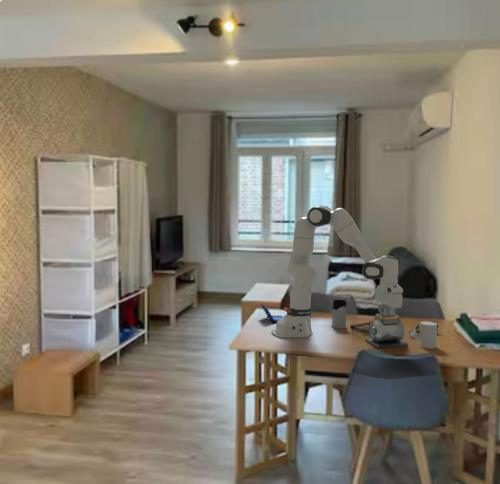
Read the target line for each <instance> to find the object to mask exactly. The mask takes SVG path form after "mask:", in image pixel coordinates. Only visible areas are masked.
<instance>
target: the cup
mask: <svg viewBox="0 0 500 484" xmlns="http://www.w3.org/2000/svg"><path fill="white" fill-rule="evenodd" d="M434 322H435V321H434ZM434 322H431V321H420V323H419V325H420V339H419V345H418V346H419V347H420V348H424V349H426V350H427V349H429V350H432V349H433V348H434V349H436V348H437V335H438V334H437V332H438V330H437V329H438V328H437V324H438V323H437V322H436V323H434ZM434 349H433V350H434Z"/></svg>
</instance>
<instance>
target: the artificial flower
mask: <svg viewBox="0 0 500 484" xmlns="http://www.w3.org/2000/svg"><path fill="white" fill-rule="evenodd" d="M430 322H434V323H437V322H436V321H432V320H431V321H430ZM438 328H439V325H438V323H437V331H439V330H438ZM407 334H408V335H409V336H410V337H412V338H413V339H414V340H420V323H416V325H415V329H414V328H411V327H410V328H409V329H407Z"/></svg>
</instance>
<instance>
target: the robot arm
mask: <svg viewBox="0 0 500 484" xmlns="http://www.w3.org/2000/svg"><path fill="white" fill-rule="evenodd" d="M328 225H330V226H331V227H332V228H333V229H334V231H335V233H336V234H337V235H338V238H340V240H341V241H342V242H343V243H344V244H346V245H348V246H350V247H352V248H354V249H355V250H356V251H357V252H358V254H359V255H360V257H361V258H362V259H363V261H364V264H363V265H362V268H361V273H362V276H363V277H364V278H365V279H367V280H370V281H371V280H378V279H379V284H378V285H377V288H375V294H374V295H375V296H374V300H375V302H378V303H380V307H381V306H390V311H388V314H389V315H393V311H394V309H395V310H396V309H401V308H402V307H403V293H404V289H403V288H402V286H400V284H398V283H399V281H398V275H399V260H398V259H397V257H395V256H393V255H388V254H384V255H382V256H381V257H378V256H376V254H375V253H374V251H373V250H372V249H371V247H370V246H369V245H368V242H366V240H365V238H364V237H363V234H362V232H361V231H360V229H359V227H358V225H357V223H356V222H355V219H353V218H352V216H351V215H350V214H349V212H348V211H347V210H346V209H345V208H343V207H338V208H335V209H334V210H332V209H331V208H330V207H329V206H327V205H316V206H313V207H311V208H310V209H309V210H308V212H307V216H301V217H299V218H298V219H297V220H296V223H295V226H294V230H293V231H294V232H293V242H292V243H293V244H292V252H291V255H290V260H289V263H288V265H287V266H286V275H287V276H288V277H289V278H290V279H291V280H292V281H293V285H292V286H293V287H292V290H291V292H290V297H289V299H290V300H289V301H290V302H289V307H288V308H287V307H284V308H283V311H284V312H286V314H285V315H284V316H282V318H281V319H280V320H278V322H277V323H275V329H271V334H272V335H273V334H274V335H273V336H276V337H277V336H278V337H277V338H308V337H309V336H312V335H313V329H312V324H311V317H312V308H311V301H312V300H311V299H312V297H311V296H312V290H313V287H314V284H315V283H314V282H315V281H316V280H317V278H318V274H317V270H316V269H315V268H314V267H313V266H312V265H310V264H309V262H310V260H311V256H312V255H313V253H314V245H315V244H314V242H315V232H316V230H317V228H319V227H324V226H328Z"/></svg>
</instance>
